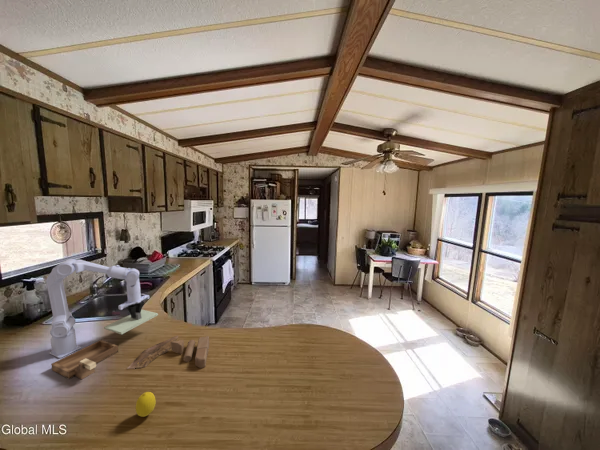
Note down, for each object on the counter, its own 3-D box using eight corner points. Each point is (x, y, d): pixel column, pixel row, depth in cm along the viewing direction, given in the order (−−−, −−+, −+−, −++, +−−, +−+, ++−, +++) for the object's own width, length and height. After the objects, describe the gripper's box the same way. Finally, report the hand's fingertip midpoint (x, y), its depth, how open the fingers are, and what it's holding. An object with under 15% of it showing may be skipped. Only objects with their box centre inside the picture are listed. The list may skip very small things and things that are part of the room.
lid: (104, 328, 114) (103, 321, 114) (141, 311, 131) (140, 304, 131) (121, 334, 109) (120, 327, 109) (158, 315, 126) (157, 308, 126)
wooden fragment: (136, 373, 95) (135, 371, 95) (119, 367, 99) (119, 364, 99) (187, 339, 119) (187, 337, 119) (172, 334, 123) (172, 333, 123)
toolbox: (52, 370, 97) (50, 357, 96) (101, 345, 113) (100, 333, 113) (76, 382, 90) (74, 368, 89) (125, 354, 107) (124, 342, 106)
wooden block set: (209, 332, 115) (205, 356, 98) (209, 343, 115) (206, 368, 98) (171, 338, 110) (160, 364, 93) (172, 349, 111) (161, 377, 93)
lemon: (142, 408, 79) (141, 387, 78) (159, 407, 79) (158, 386, 79) (132, 423, 73) (130, 401, 73) (150, 422, 74) (148, 399, 73)
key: (80, 365, 94) (79, 361, 93) (86, 362, 95) (85, 358, 95) (90, 370, 91) (89, 365, 91) (96, 366, 93) (95, 362, 93)
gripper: (123, 298, 112) (126, 324, 114) (152, 288, 126) (154, 311, 127) (114, 296, 115) (117, 322, 116) (143, 286, 128) (145, 309, 130)
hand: (136, 316), depth 122 cm, fingers closed on lid, 2 cm apart
